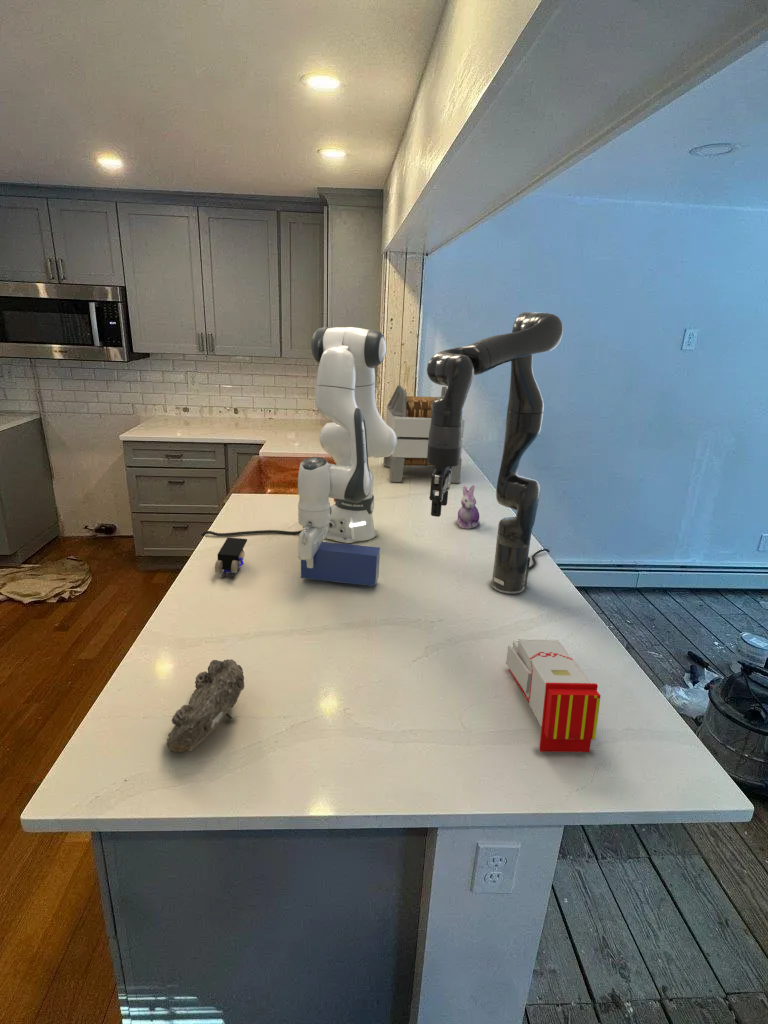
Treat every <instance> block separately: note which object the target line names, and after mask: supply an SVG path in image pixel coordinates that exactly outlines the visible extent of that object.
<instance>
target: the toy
mask: <svg viewBox="0 0 768 1024" xmlns="http://www.w3.org/2000/svg"><path fill="white" fill-rule="evenodd" d="M505 659H506V660H505V665H506V666H507V667H508V671H509V673H510V674H511V676H512V678H513V679H514V681H515V682H516V685H517V686H518V688H519V690H520V691H521V692H522V694H523V697H525V699H526V701H527V703H529V707H530V709H531V711H532V712H533V714H534V716H535V718H536V720H537V722H538V724H539V726H540V728H541V729H540V739H539V748H538V751H539V752H540V753H543V752H544V753H590V752H591V744H592V743H591V742H592V740H596V736H597V727H598V720H599V719H598V718H599V710H600V704H601V703H600V702H601V696H602V695H601V694H600V693H599V692H598V687H599V686H598V683H595V682H594V683H592V682H591V681H590V679H589V678H588V677H587V676H586V674H585V673H584V671H583V670H582V669H581V668H580V666H579V665H578V664H577V663H576V662H575V661H576V660H574V659H573V658H572V656H571V655H570V653H568V651H567V650H566V648H565V647H564V645H563V644H562V643H561V642H560V641H559V639H529V638H528V639H524V638H521V639H517V640H512V645H511V644H510V645H509V644H508V646H507V653H506V658H505Z"/></svg>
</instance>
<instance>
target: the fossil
mask: <svg viewBox="0 0 768 1024" xmlns="http://www.w3.org/2000/svg"><path fill="white" fill-rule="evenodd" d="M243 670H244V669H243V667H242V665H240V664H237V662H236V661H235V660H234V659H232V658H231V659H227V658H226V659H224V660H223V661H222V660H217V659H212V660H211V661H210V663H209V665H208V666H207V671H201V672H199V673H198V674H197V675H196V676H195V680H194V684H195V685H194V687H195V689H194V690H193V693H192V694H191V697H190V698H189V700H188V704H184V705H182V706H181V707H180V709H177V710H176V711H175V713H174V715H173V716H172V718H171V723H172V724H173V727H172V730H171V731H170V732H168V734H167V738H166V741H167V742H166V745H167V749H168V750H169V751H173V752H174V753H176V754H178V753H182V752H188V751H189V752H192V751H193V750H195V748H196V747H197V746H199V744H200V743H201V742H203V741H204V740H205V739H206V738H207V737H208V736H209V735H210V734H211V733H212V732H214V730H215V729H217V727H218V726H219V724H220V722H221V721H222V720H223V719H224V718H225V716H226V717H227V719H229V720H233V717H232V715H230V714H229V710H230V709H231V708H234V706H235V704H236V703H237V702H238V699H239V697H240V695H241V693H242V691H243V690H245V689H244V688H245V675H244V671H243Z"/></svg>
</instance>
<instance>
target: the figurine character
mask: <svg viewBox="0 0 768 1024" xmlns="http://www.w3.org/2000/svg"><path fill="white" fill-rule="evenodd" d="M247 542H248V538H240V537H226V539H225V541H224V543H223V544H222V546H221V547H220V549H219V551H218V552H217V560H216V562H215V564H214V572H215V573H221V577H222V578H224V577H225V576H226V574H227V573H230V574H231V573H232V574H231V578H234V577H235V575H236V573H237V572H239V571H240V567H242V566H243V565H244V564H245V562H244V558H245V551H244V547H245V546H246V544H247Z"/></svg>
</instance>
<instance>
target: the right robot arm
mask: <svg viewBox="0 0 768 1024" xmlns="http://www.w3.org/2000/svg"><path fill="white" fill-rule="evenodd" d="M511 330H512V331H511V332H509V333H502V334H496V335H493V336H488V337H485V338H482V339H480V340H477V341H474V342H473V343H470V344H468V345H465V346H464V345H463V346H458V347H454V348H453V347H452V348H449V349H444V350H442V351H439V352H437V353H436V354H434V355H433V356H432V357H431V358H430V360H429V361H428V363H427V366H426V374H427V377H428V378H429V380H430V382H432V383H434V384H435V385H439V386H443V387H447V392H446V394H445V396H442V397H441V396H436V397H437V398H435V399H434V400H433V403H432V412H431V424H430V430H429V438H428V452H427V462H428V463H429V464H430V466H432V465H434V466H433V467H435V469H434V471H432V474H431V475H430V478H431V480H430V491H429V500H430V501H431V507H430V516H431V517H437V518H439V517H440V516H441V515H442V507H443V506H444V507H445V506H447V505H448V499H449V498H448V497H449V491H450V489H451V487H450V486H452V483H451V475H452V467H455V466H457V465H458V464H459V462H460V451H461V440H462V439H463V438H462V419H463V414H464V408H465V407H464V406H465V403H466V401H467V399H468V396H469V392H470V390H471V387H472V384H473V381H474V376H477V375H482V374H484V373H486V372H488V371H491V370H493V369H495V368H497V367H500V366H502V365H504V364H507V363H510V380H509V381H510V382H509V393H508V402H507V409H506V419H505V429H504V431H505V432H504V441H503V451H502V456H501V461H500V468H499V473H498V477H497V483H496V488H495V489H496V490H495V496H496V501H497V503H498V504H499V505H501V506H503V507H505V508H508V509H511V510H515V511H516V514H515V515H516V516H508V517H504V518H502V519H500V520H499V522H498V526H497V535H496V542H495V543H496V544H495V550H494V551H495V552H494V560H493V568H492V577H491V582H490V586H491V588H492V589H493V590H495V591H497V592H499V593H502V594H508V595H517V594H520V593H523V592H524V590H525V589H526V588H527V584H528V578H529V577H528V576H529V571H530V570H531V569H533V568H534V567H535V566H536V564H537V561H536V558H535V557H536V556H537V555H539V554H540V553H542V552H547V553H551V552H550V549H548V548H542V549H543V550H542V549H539V550H537V551H536V552H535V553H533V554H532V555H531V557H530V556H529V554H530V547H531V546H530V545H531V540H532V534H533V533H532V532H533V529H534V526H535V522H536V517H537V513H538V512H537V511H538V508H539V507H538V506H539V502H540V496H541V485H540V483H539V482H538V481H537V480H536V479H533V478H530V477H526V476H522V475H519V474H518V473H519V467H520V463H521V459H522V457H523V456H524V454H525V452H526V451H527V450H528V449H529V447H531V446H532V444H533V443H534V441H535V440H536V439H537V438H538V436H539V435H540V432H541V430H542V425H543V418H544V410H545V403H544V399H543V396H542V393H541V390H540V388H539V384H538V383H537V380H536V378H535V374H534V371H533V357H534V356H533V355H536V354H542V353H548V352H551V351H553V350H555V348H557V346H558V345H560V343H561V341H562V338H563V333H564V326H563V322H562V320H561V318H560V317H559V316H558V315H556V314H554V313H552V312H551V313H550V312H538V311H537V312H535V311H525V312H521V313H519V314H518V316H517V317H516V318H515V319H514V322H513V325H512V329H511ZM462 441H463V440H462ZM436 493H438V495H437V494H436ZM531 559H532V561H533V563H532V564H530V563H531Z"/></svg>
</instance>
